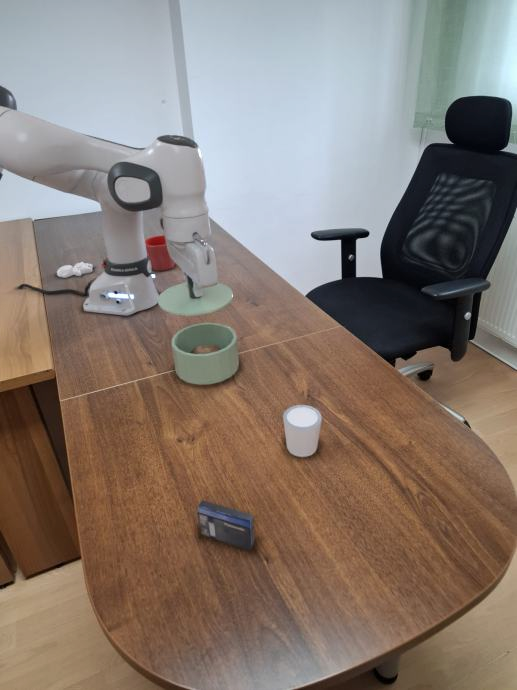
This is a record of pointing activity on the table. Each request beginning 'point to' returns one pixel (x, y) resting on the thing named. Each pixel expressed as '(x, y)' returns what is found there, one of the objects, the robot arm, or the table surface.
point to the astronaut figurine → (74, 270)
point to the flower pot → (158, 253)
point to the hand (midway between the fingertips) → (194, 291)
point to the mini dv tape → (226, 524)
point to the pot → (205, 365)
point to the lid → (194, 299)
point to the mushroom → (205, 349)
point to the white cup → (302, 429)
